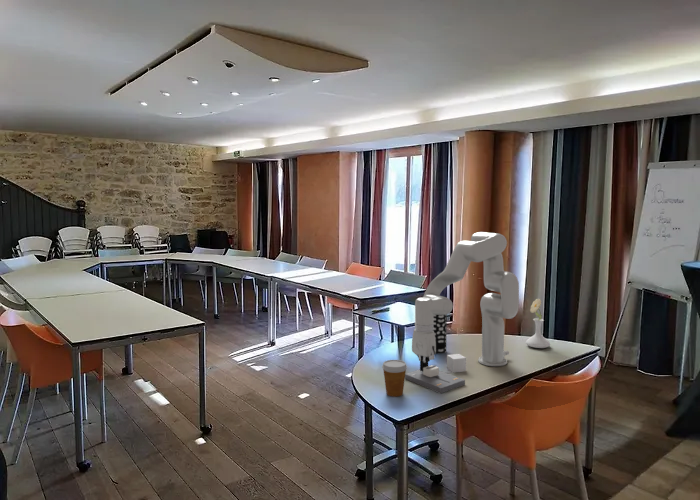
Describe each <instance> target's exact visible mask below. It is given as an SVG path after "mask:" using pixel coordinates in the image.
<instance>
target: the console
mask: <svg viewBox="0 0 700 500" xmlns="http://www.w3.org/2000/svg"><path fill="white" fill-rule="evenodd" d="M405 380H408V381H411V382H413V383H414V382H415V384H417V385H420V386H422V387H425V388H427V389H429V390H432V391H434V392H438V393H439V394H443V393H445V392H447V391H450V390H453V389H457V388H459V387H463V386H465V385H466V379H464V378H461V377H458V376H456V375H453V374H449V373H447V372H444V371H441V370H439V375H436V376H433V377H428V376H425V375H423V371H420V369H417V370H414V371H411V372H407V373H405Z"/></svg>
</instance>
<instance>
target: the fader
mask: <svg viewBox="0 0 700 500" xmlns="http://www.w3.org/2000/svg"><path fill="white" fill-rule="evenodd" d="M439 371H440V367H438V366H437V365H435V364H434V365H432V364H430V365H428V366H427V367H424V368H423V375H425V376H428V377H433V376H436V375H439Z"/></svg>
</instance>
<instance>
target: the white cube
mask: <svg viewBox="0 0 700 500" xmlns="http://www.w3.org/2000/svg"><path fill="white" fill-rule="evenodd" d="M446 368H447V370H449V371H450V372H452V373H460V372H466V371H467V357H466V356H463V355H462V354H460V353H453V354H446Z"/></svg>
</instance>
